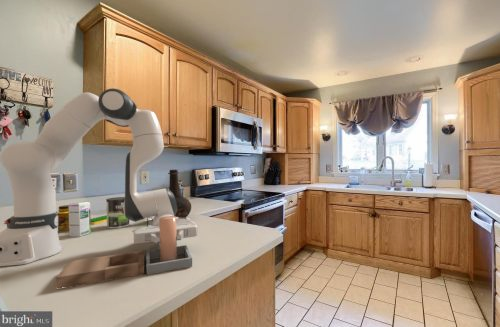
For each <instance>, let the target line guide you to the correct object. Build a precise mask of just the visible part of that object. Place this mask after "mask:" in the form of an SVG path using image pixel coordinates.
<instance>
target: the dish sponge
mask: <svg viewBox="0 0 500 327" xmlns="http://www.w3.org/2000/svg"><path fill="white" fill-rule="evenodd" d="M102 223H107V214H106V215H102V216H97V217H93V218H91V226H95V225H98V224H102Z"/></svg>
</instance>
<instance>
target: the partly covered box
mask: <svg viewBox="0 0 500 327" xmlns="http://www.w3.org/2000/svg"><path fill="white" fill-rule="evenodd" d="M145 252H146V251H145V250H139V251H138V250H137V251H134V252H133V251H131V252H125V253H118V254H110V255H104V256H96V257H90V258H83V259H82V258H81V259H76V260H70V261H69V262H68V263H67V264H66V265H65V266H64V268H63V269H61V271H60V272H59V274H58V275H57V276H56V281H55V282H56V286H55V287H56V288H62V287H67V288H71V287H70V286H73V287H77V286H76V285H79V286H83V284H84V285H89V284H95V283H100V282H106V281H112V280H116V279H122V278H129V277H135V276H139V275H145V264H146V262H145V261H146V260H145ZM62 289H63V288H62Z"/></svg>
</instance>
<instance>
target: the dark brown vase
mask: <svg viewBox="0 0 500 327" xmlns="http://www.w3.org/2000/svg"><path fill="white" fill-rule="evenodd" d="M178 170H179V169H170V170H169V172H168V173H167V174H168V175H169V183H168V188H169V190H170V191H171V192H172V193H173V195H174V197H175V200H176V203H177V212H176V214H175V217H186V218H188V216H189V215H190V213H191V210H192V202H190V200H189V199H188V198H187V197H184V196H183V194H181V190H180V185H179V175H178V174H179V173H180V172H179V171H178Z"/></svg>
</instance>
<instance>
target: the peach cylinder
mask: <svg viewBox="0 0 500 327" xmlns="http://www.w3.org/2000/svg"><path fill="white" fill-rule="evenodd" d="M159 223H160V243H159V249H160V257H159V263H160V262H166V261H172V260H178V255H177V247H178V246H177V245H178V240H177V233H176V217H175V216H166V217H161V218H159Z"/></svg>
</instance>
